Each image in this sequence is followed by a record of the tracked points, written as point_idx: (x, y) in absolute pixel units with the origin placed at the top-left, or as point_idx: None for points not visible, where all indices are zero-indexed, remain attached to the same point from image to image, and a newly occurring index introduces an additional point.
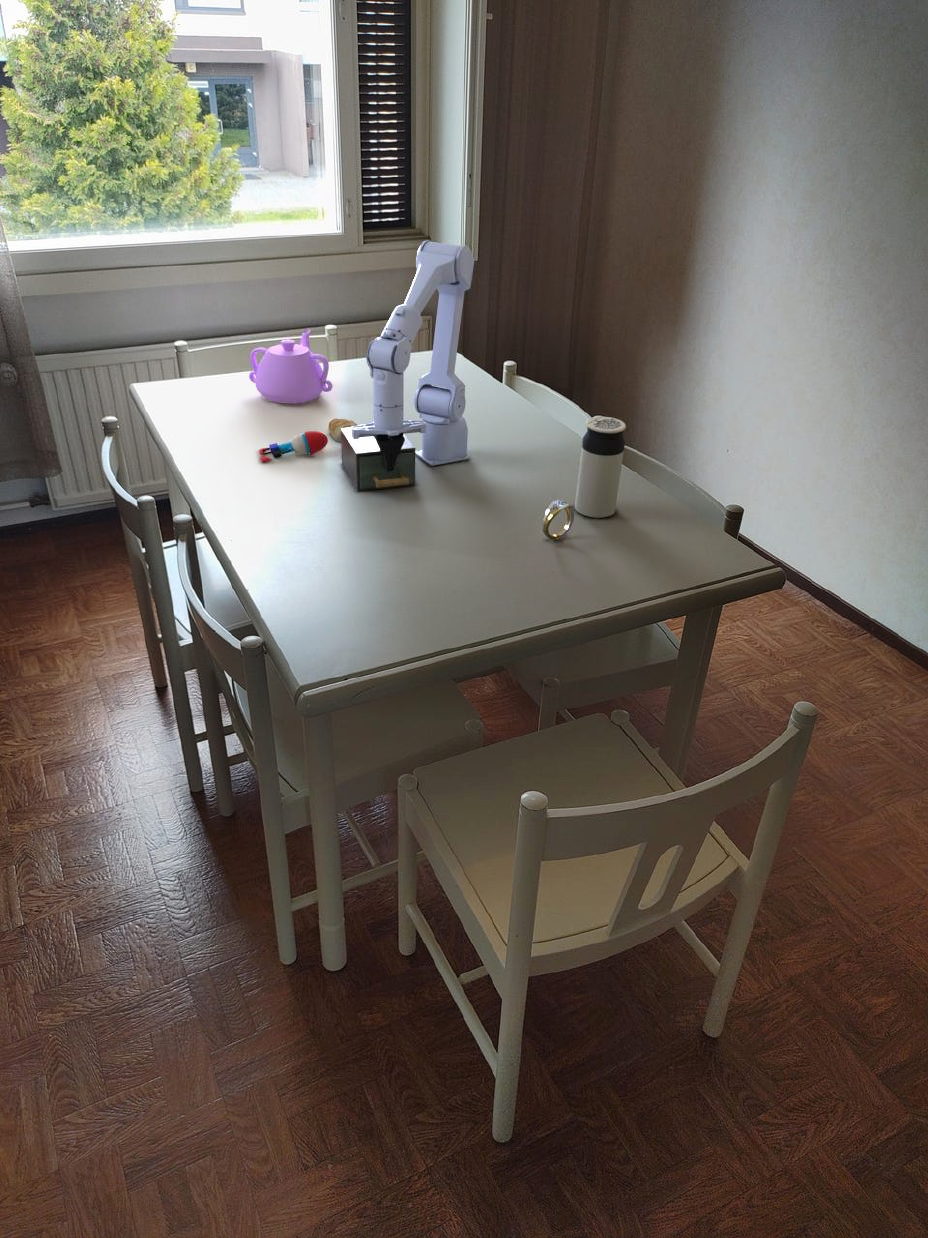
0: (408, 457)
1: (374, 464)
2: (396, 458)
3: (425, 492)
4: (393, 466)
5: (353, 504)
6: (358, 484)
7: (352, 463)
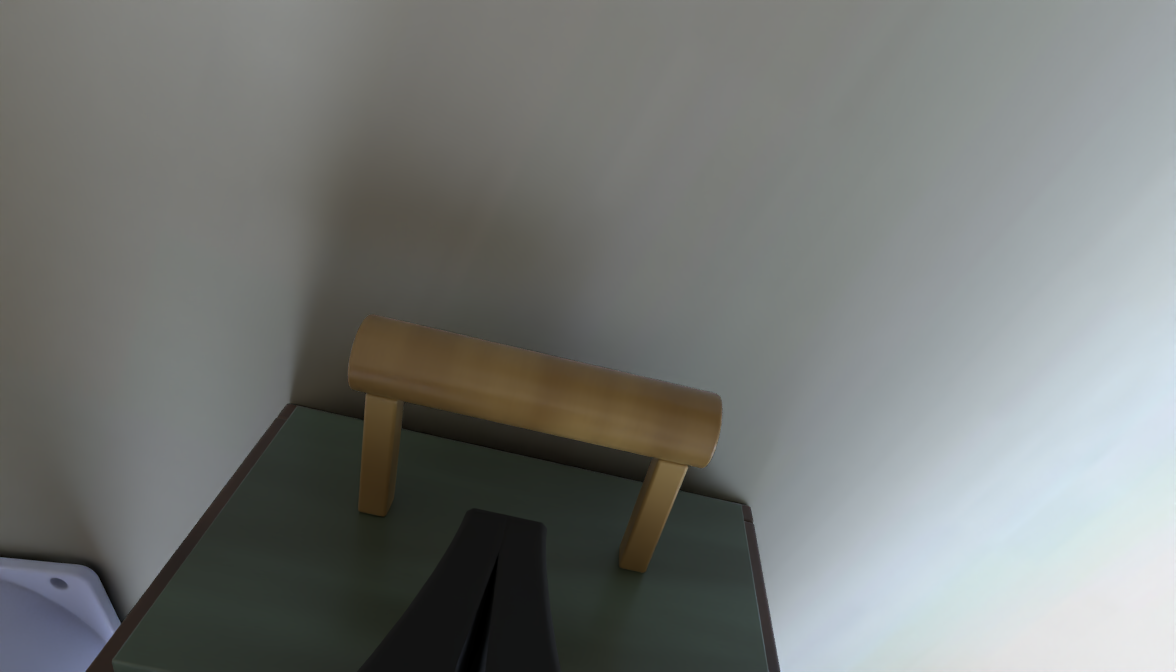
0: (210, 625)
1: (621, 667)
2: (396, 630)
3: (240, 256)
4: (465, 547)
5: (927, 349)
6: (748, 546)
7: None
